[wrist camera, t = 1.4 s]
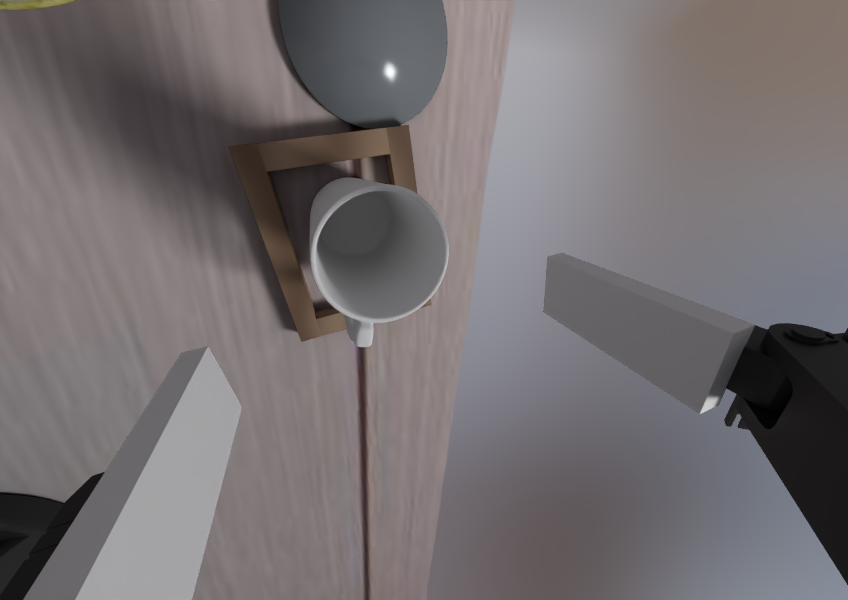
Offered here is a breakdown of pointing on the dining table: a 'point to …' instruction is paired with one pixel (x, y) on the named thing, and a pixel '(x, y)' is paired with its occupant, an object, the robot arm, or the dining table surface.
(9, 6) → the bowl
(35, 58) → the dining table surface
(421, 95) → the coaster
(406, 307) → the mug
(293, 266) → the holder
